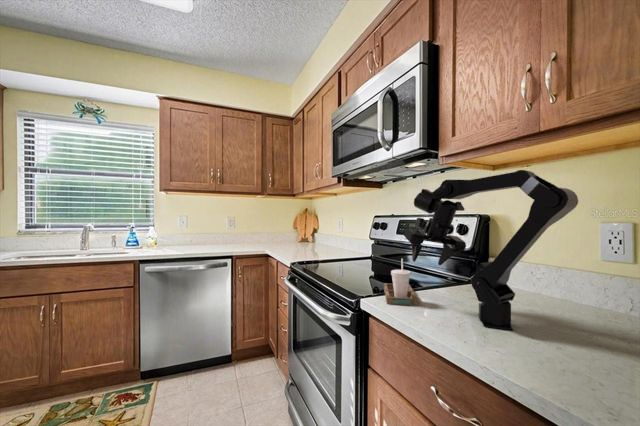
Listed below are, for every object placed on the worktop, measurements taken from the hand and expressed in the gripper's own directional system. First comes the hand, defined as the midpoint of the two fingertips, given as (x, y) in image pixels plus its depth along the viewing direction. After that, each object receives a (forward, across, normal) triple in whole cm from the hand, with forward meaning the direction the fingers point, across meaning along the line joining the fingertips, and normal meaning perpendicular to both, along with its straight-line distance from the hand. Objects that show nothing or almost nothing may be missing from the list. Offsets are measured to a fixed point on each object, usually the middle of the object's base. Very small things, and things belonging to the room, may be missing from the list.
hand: (426, 262), depth 92 cm
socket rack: (+15, +4, -2) cm, 16 cm away
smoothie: (+14, +6, +2) cm, 15 cm away
